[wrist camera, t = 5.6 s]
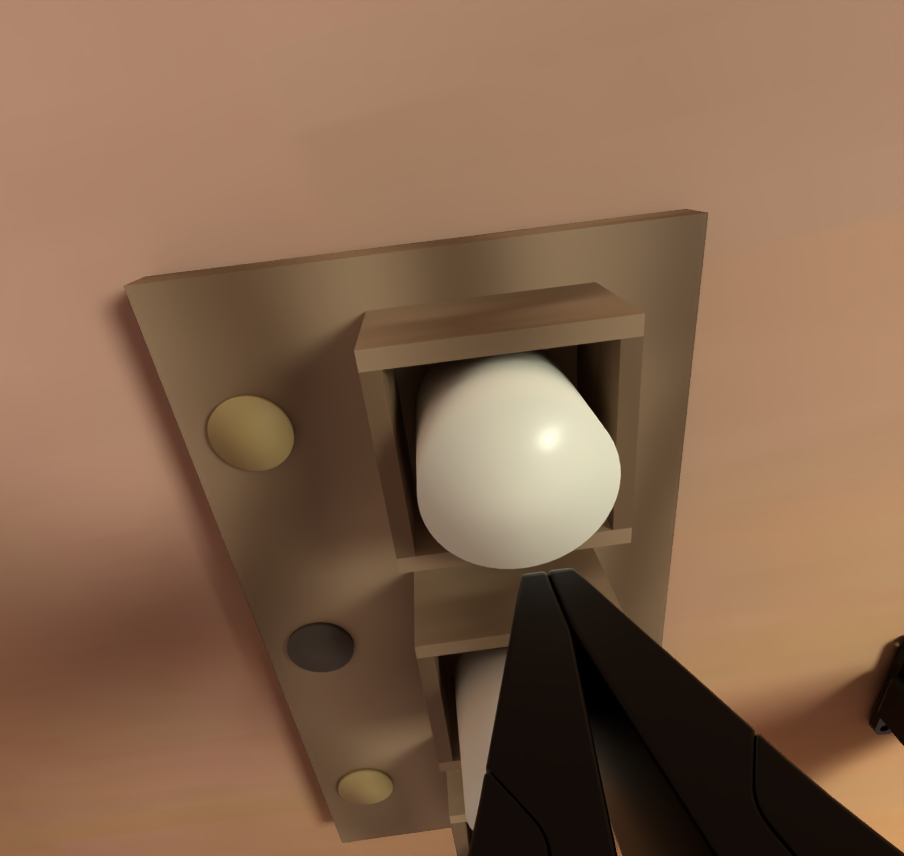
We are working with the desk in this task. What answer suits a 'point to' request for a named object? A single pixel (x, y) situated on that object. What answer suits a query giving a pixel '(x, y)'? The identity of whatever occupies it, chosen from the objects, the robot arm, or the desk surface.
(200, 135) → the desk surface
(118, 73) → the desk surface
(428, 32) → the desk surface
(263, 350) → the board
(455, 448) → the button
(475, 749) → the button
